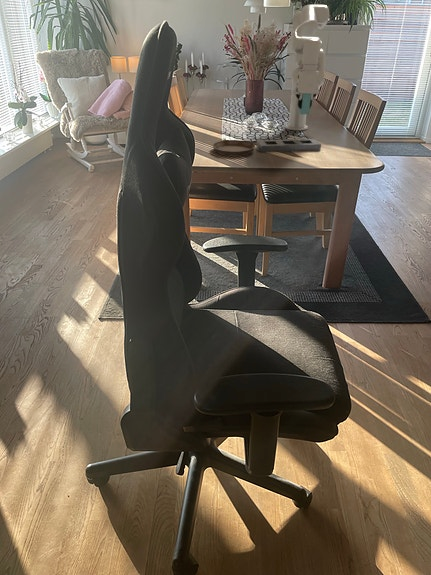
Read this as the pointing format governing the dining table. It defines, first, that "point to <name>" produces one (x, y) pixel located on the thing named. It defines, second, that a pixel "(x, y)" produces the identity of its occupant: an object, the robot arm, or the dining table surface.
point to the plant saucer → (233, 147)
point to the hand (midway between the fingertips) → (304, 107)
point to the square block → (305, 104)
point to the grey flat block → (288, 145)
